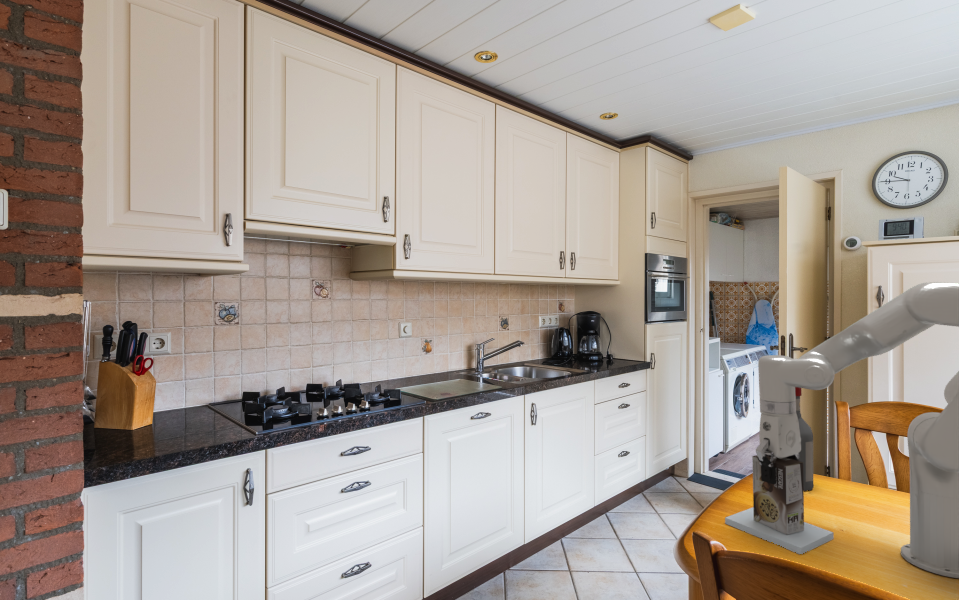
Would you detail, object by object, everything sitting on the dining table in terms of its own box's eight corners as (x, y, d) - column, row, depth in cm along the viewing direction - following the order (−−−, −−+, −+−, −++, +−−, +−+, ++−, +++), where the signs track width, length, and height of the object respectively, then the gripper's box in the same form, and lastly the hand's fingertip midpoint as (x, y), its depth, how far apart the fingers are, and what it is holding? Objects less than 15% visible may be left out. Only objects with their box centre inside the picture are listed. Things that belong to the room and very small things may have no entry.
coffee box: (805, 530, 120) (805, 462, 119) (786, 535, 117) (786, 466, 117) (770, 515, 128) (769, 451, 128) (751, 519, 126) (751, 454, 125)
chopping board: (833, 538, 118) (833, 532, 118) (800, 554, 111) (800, 548, 111) (758, 510, 134) (758, 505, 134) (725, 523, 127) (725, 517, 127)
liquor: (812, 482, 154) (811, 383, 153) (813, 492, 146) (813, 388, 145) (777, 477, 158) (776, 381, 158) (776, 487, 150) (776, 386, 150)
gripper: (772, 414, 115) (775, 490, 115) (813, 404, 123) (816, 475, 123) (741, 409, 121) (743, 481, 121) (781, 400, 130) (784, 467, 130)
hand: (780, 478), depth 122 cm, fingers open, 9 cm apart
